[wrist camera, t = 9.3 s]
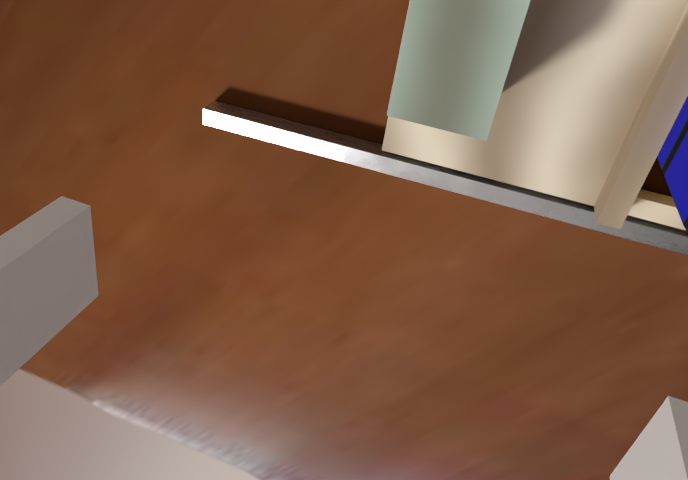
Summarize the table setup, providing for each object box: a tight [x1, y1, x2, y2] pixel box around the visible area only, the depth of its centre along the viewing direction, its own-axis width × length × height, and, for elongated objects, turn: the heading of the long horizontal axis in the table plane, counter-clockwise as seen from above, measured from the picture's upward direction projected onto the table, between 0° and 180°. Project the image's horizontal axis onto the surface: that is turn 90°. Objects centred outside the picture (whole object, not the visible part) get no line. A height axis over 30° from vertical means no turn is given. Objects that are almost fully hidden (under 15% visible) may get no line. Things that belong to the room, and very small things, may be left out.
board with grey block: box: [382, 0, 688, 230], centre depth 25 cm, size 25×15×7 cm, turn 81°
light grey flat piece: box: [203, 101, 688, 255], centre depth 28 cm, size 30×18×2 cm, turn 81°
